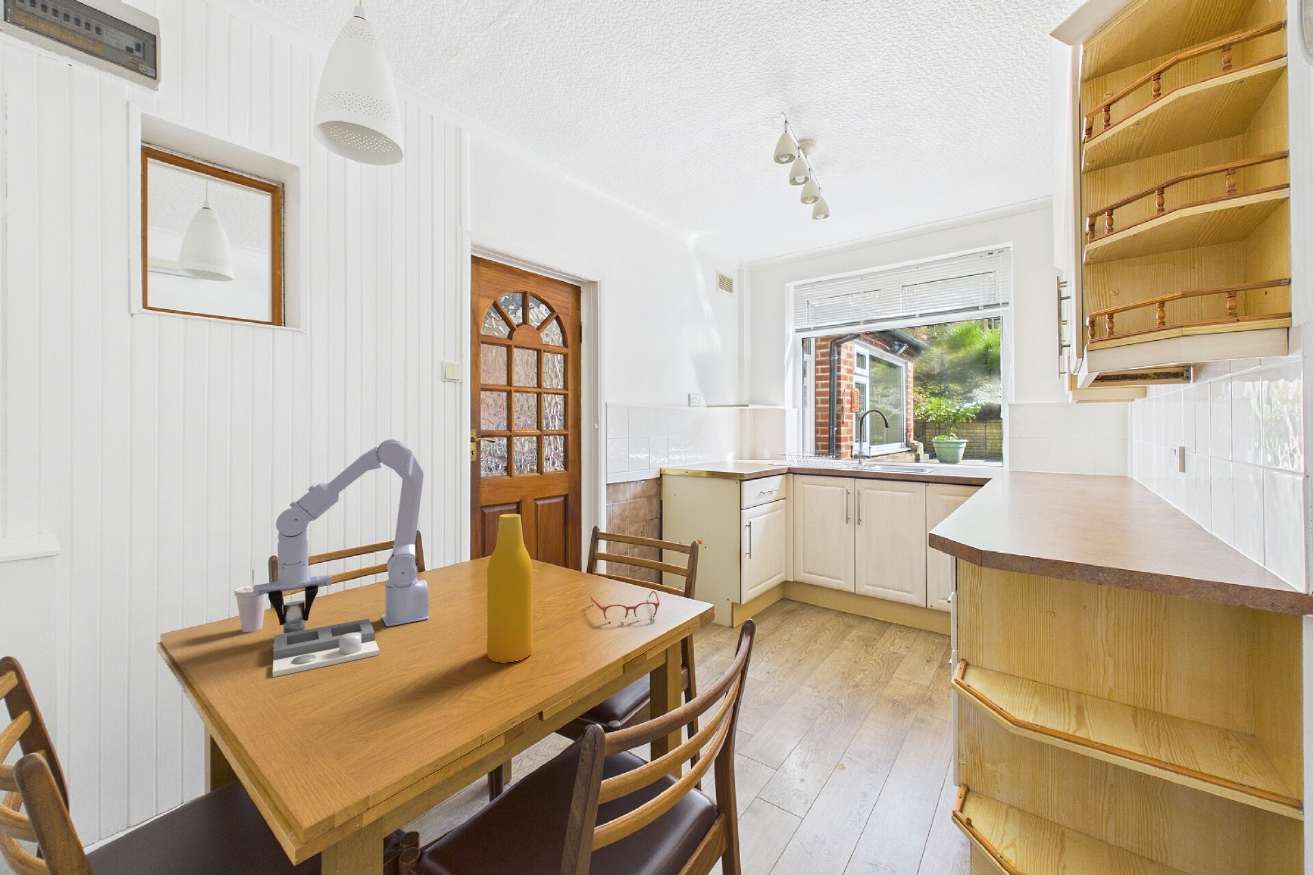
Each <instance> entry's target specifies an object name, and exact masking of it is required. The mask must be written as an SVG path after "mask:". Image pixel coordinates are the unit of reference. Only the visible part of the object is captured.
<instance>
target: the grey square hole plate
mask: <svg viewBox="0 0 1313 875" xmlns="http://www.w3.org/2000/svg"><path fill="white" fill-rule="evenodd" d="M348 633H361V643H366V642H371V641H376V637H375V636H376V632H375V630H374V627H373V625H372V623H371V620H370V618H366V619H360V620H356V621H355V620H354V621H350V622H343V623H338V624H332V625H331V624H330V625H326V626H325V625H324V626H320V627H314V628H310V629H309V628H307V629H304V630H302V631H296V632H290V633H279V634H275V635H273V637H274V638H273V654H272V656H273V661H274V660H279V659H284V658H289V657H294V656H299V655H304V654H309V653H315V652H320V651H325V650H330V649H335V648H339V637H340V636H342V635H344V634H348Z"/></svg>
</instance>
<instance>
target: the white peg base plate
mask: <svg viewBox="0 0 1313 875" xmlns="http://www.w3.org/2000/svg"><path fill="white" fill-rule="evenodd" d="M376 656H380V648H379V645H378V644H377V640H375V641H371V642H366V643H361V633H348V634H344V635H342V636H340V637H339V648H335V649H330V650H325V651H320V652H315V653H309V654H304V655H299V656H294V657H289V658H284V659H279V660H274V659H273V662H272V677H273V678H275V677H279V676H284V675H286V676H287V675H289V674H294V673H299V672H304V671H309V670H314V669H319V668H323V667H327V666H332V665H338V664H342V663H346V662H351V661H357V660H361V659H366V658H371V657H376Z"/></svg>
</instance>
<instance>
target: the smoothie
mask: <svg viewBox="0 0 1313 875" xmlns="http://www.w3.org/2000/svg"><path fill="white" fill-rule="evenodd" d="M254 585H256V570H255V569H252V570H251V585H246V586H245V585H244V586H241V587H238V588H236V589H234V594H233V596H235V597H236V602H237V610H238V616H239V620H240V627H241V631H242V633H244V632H245V633H247V632H248V633H254V632H257V631H260V630H262V629H263V624H264V623H263V622H264V615H265V608H266V602H267V600H266V599H267V594H261V595H259V596H253V587H254Z"/></svg>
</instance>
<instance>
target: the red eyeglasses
mask: <svg viewBox="0 0 1313 875" xmlns="http://www.w3.org/2000/svg"><path fill="white" fill-rule="evenodd" d="M653 593H654V594H655V597H656V599H657V600H656V601H657V602H654V601H653V602H652V601H651V602H650V601H645V602H639V603H638V604H636V605H633V606H626V605H624V604H610V605H607V606H602V605H601V604H600V603H598V602H597V601H596V600H595V599H594V598H593V596H592V595H591V594H590V595H589V597H590V600H591V602H593V604H595V605H596V607H597V608H599V609H600V610H601V611H602V612H603V617H604V619H605V620H606V619H608V618H607V615H606V611H607V610H608V609H609V608H612V607H622V608H624V609H625V615H624V617H625V618H626V619H627V617H628V615H629V610H633V613H634V616H635V618H636V617H638V616H637V613H636V610H637V609H638V607H640V606H642V605H653V606H654V613H653V615H655V616H656V614H657V612H658V608H659V606H660V598H659V596H658V594H657V592H656V591H655V590H653V591H651V592H650V594H649V596H648V597H649V599H650V598H651V595H652V594H653Z"/></svg>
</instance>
